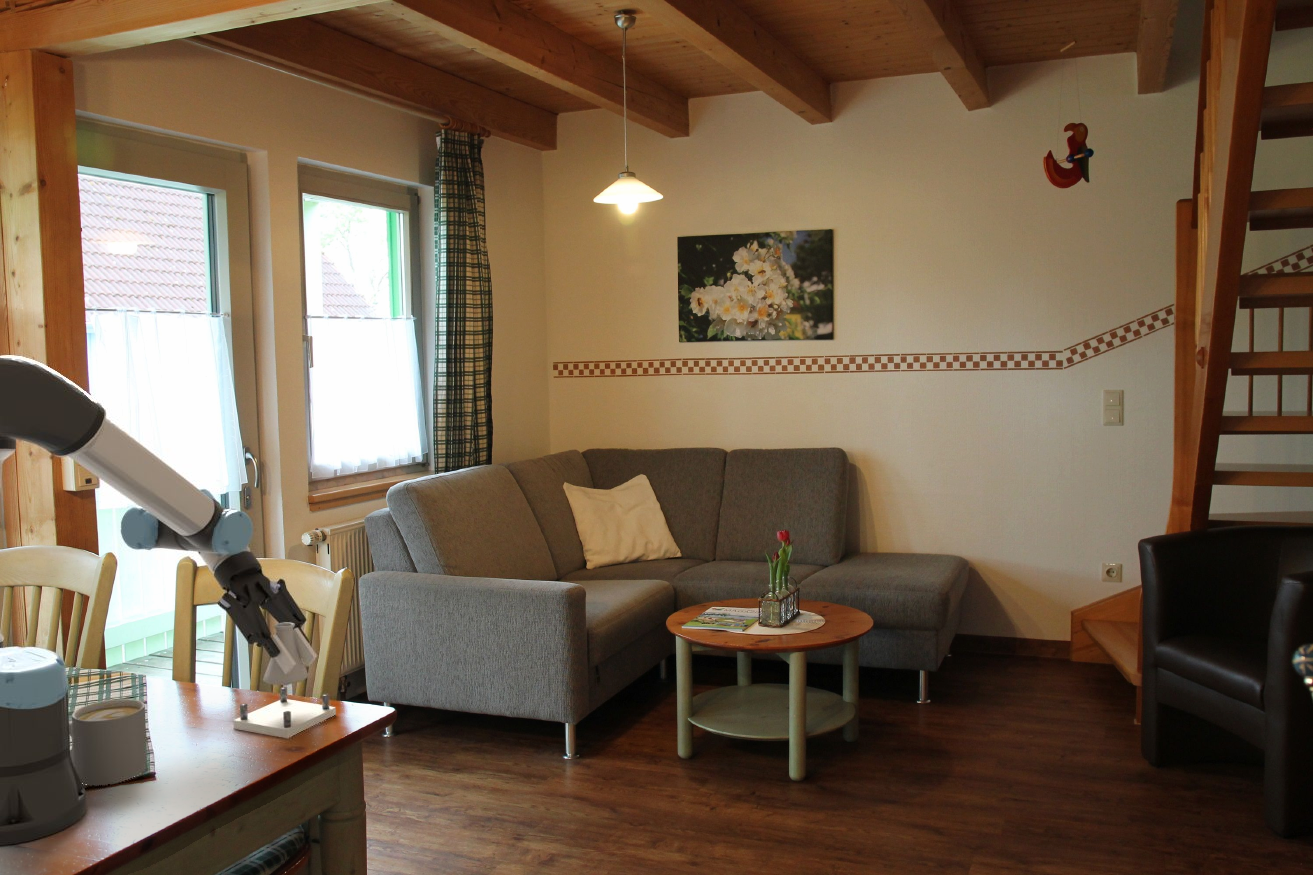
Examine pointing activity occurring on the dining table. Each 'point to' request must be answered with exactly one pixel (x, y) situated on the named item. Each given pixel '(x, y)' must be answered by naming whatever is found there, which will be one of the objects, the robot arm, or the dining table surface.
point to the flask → (299, 671)
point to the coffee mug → (109, 741)
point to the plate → (272, 718)
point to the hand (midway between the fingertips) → (301, 664)
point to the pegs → (287, 713)
